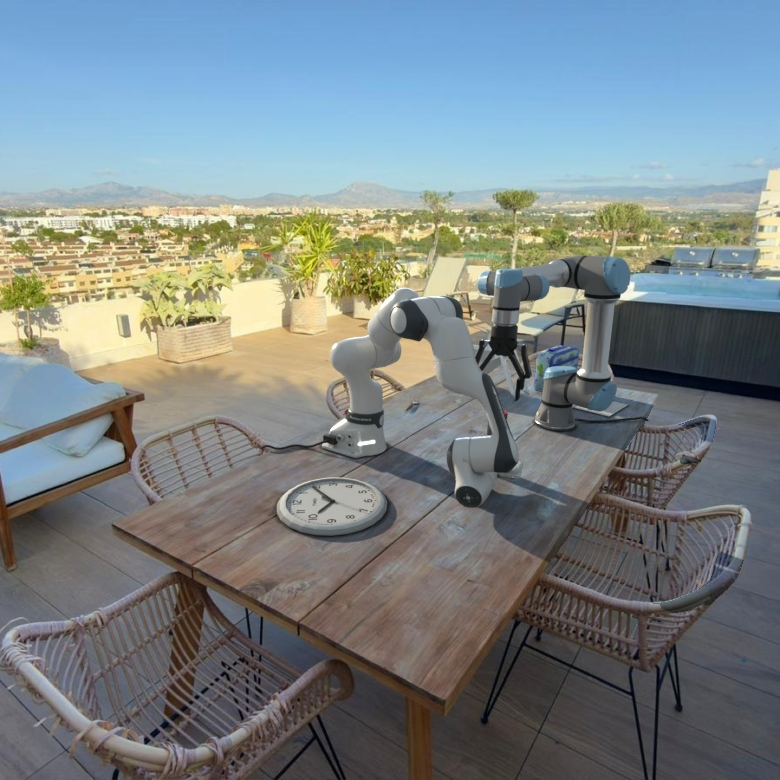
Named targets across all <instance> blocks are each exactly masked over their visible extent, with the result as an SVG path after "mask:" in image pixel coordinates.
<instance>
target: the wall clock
mask: <svg viewBox="0 0 780 780" xmlns="http://www.w3.org/2000/svg"><path fill="white" fill-rule="evenodd" d="M387 509H388V500H387V498H386V496H385V494H384V493H383V492H382V491H381V490H380V489H379V488H377V487H376V486H374V485H372V484H371V483H369V482H365V481H362V480H359V479H355V478H349V477H338V476H337V477H335V476H333V477H332V476H331V477H322V478H317V479H312V480H307V481H305V482H302V483H299V484H297V485H295V486H293V487H292V488H290V489H288V490H287V491H286V492H285V493H284V494H283V495H281V496H280V498H279V499H278V502H277V503H276V515H277V517H278V518H279V520H280V521H281V522H282V523H283V524H285V525H286V526H287V527H288V528H290V529H293V530H295V531H297V532H299V533H303V534H308V535H312V536H327V537H328V536H329V537H331V536H332V537H333V536H342V535H350V534H352V533H356V532H361V531H363V530H366V529H368V528H369V527H372V526H373V525H375V524H376V523H378V522H379V521H380V520H381V519H382V518H383V517H384V516H385V514H386V512H387Z"/></svg>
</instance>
